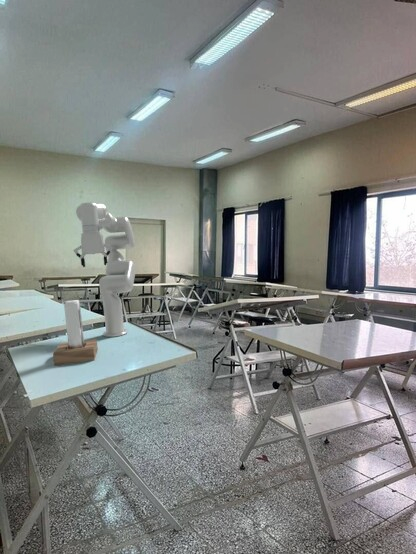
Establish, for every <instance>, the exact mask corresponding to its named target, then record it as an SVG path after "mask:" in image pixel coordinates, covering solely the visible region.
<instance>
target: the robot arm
mask: <svg viewBox="0 0 416 554" xmlns="http://www.w3.org/2000/svg"><path fill="white" fill-rule="evenodd" d="M107 208H108V207H106V205H105V204H103V203H98V202H97V203H96V202H91V201H90V202H88V201H87V202H82V203H80V205H78V206H77V207H76V210H75V214H76V217H77V219H78V220H79V221H80V222H81V228H82V232H81V234H80V235H81V236H80V237H81V238H80V244H81V245H79V246H77V247H76V248H74V249H73V253H74V254H75V255H76V257H79V259H80V265H81V266H82V267H83V268H85V267H86V261H85V260H86V259H85V256H86V255H94V254H95V255H97V254H101V255H103V264H104V266H105V267H106V268H105V276H102V277H100V279H99V281H98V287H99V291H100V294H101V298H102V306H103V315H104V324H105V331H104V332H103V333H102V335H103V337H106V338H107V337H108V338H113V337H119V336H124V335H126V334H127V333H128V330H127V329H125V325H124V323H125V322H124V315H123V314H124V313H123V306H122V305H123V304H122V299H121V297H120V296H119V295H118V294H120V293H123V294H124V293H129V292H131V291H132V290H133V288H134V283H135V277H136V266H135V263H134V262H133V261H132V260H125V257H124V256H123V254H122V253H121V252H119V251H118V250H127V249H128V250H129V249H133V248H134V247H135V246H136V239H135V234H134V232H133V227H132V224H131V221H130V220H129V217H127V216H113V215H112V214H111V213H110V212H108V209H107ZM102 230H104V231H105V232H108V233H111V234H112V235H111V234H110V235H108V236H106V237H105V238H104V237H103V232H102ZM113 233H114V234H113ZM115 233H120V234H115ZM80 250H81V254H80V253H79V252H78V251H80Z"/></svg>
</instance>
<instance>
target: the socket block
mask: <svg viewBox="0 0 416 554" xmlns="http://www.w3.org/2000/svg"><path fill="white" fill-rule="evenodd" d="M84 346H85V347H83V348H75V349H69V344H68V342H62V343H61V342H60V343H59V345H58V346H57V347H56V349H55V350H54V352H53V353H52V357H53V364H54V366H61V365H68V364H76V363H83V362H92V361H95V360H96V357H97V353H98V351H99V349H98V340H97V339H96V338H95V339H88V340H84Z"/></svg>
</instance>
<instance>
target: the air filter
mask: <svg viewBox="0 0 416 554" xmlns="http://www.w3.org/2000/svg"><path fill="white" fill-rule="evenodd" d="M63 309H64V317H65V325H66V333H67V343H68V344H69V349H75V348H83V347H85V346H84V341H85V340H84V339H85V337H84V330H83V327H84V326H83V319H82V309H81V303H80V300H79V299H73V300H72V299H71V300H67V301H66V300H65V303H64V304H63Z"/></svg>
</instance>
